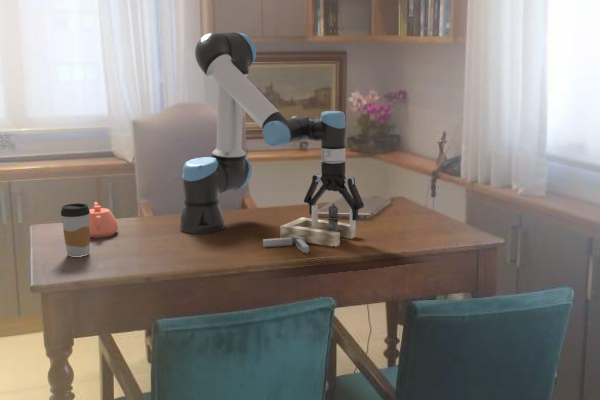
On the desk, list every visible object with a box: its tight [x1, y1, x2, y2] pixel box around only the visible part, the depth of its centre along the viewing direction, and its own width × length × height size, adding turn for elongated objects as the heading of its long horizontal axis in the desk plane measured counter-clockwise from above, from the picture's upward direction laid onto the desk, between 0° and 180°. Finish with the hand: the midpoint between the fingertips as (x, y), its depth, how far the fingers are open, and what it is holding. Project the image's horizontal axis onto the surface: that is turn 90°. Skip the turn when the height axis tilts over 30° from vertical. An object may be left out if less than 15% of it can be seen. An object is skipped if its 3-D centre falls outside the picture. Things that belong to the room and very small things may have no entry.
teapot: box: [89, 201, 119, 239], centre depth 246 cm, size 12×18×10 cm
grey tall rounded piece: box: [324, 202, 342, 242], centre depth 235 cm, size 6×6×12 cm
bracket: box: [279, 216, 356, 248], centre depth 239 cm, size 20×14×4 cm
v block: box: [262, 236, 310, 254], centre depth 229 cm, size 10×17×2 cm, turn 59°
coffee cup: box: [60, 202, 91, 256], centre depth 221 cm, size 8×8×15 cm
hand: (333, 227), depth 236 cm, fingers open, 13 cm apart
